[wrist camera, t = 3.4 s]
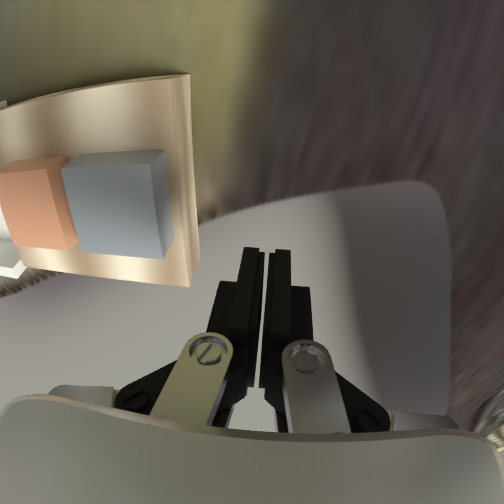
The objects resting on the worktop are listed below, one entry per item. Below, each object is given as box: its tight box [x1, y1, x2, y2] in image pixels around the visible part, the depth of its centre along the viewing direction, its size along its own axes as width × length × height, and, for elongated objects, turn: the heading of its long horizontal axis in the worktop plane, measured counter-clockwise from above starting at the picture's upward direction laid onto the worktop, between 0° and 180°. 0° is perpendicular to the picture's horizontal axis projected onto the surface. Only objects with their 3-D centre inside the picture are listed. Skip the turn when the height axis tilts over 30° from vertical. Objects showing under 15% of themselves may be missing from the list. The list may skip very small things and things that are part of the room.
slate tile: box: [61, 150, 175, 260], centre depth 15 cm, size 5×5×2 cm
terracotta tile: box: [0, 155, 78, 251], centre depth 16 cm, size 5×5×2 cm
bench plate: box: [0, 74, 200, 287], centre depth 18 cm, size 14×12×3 cm
